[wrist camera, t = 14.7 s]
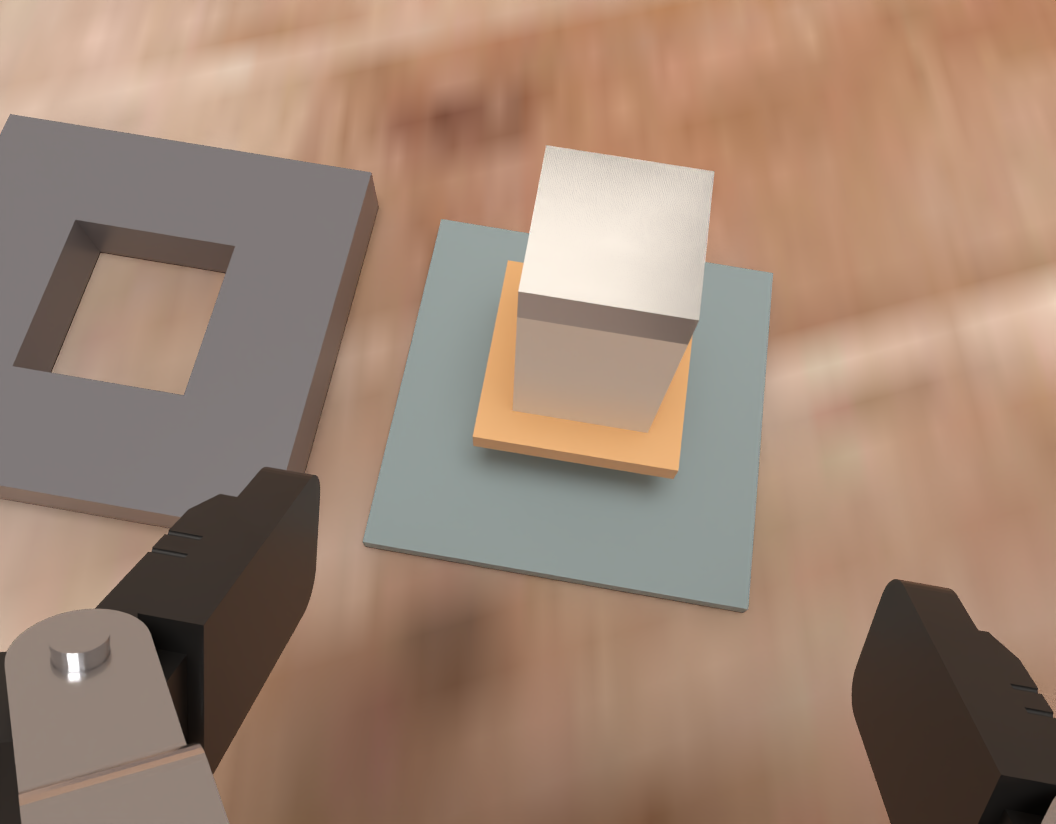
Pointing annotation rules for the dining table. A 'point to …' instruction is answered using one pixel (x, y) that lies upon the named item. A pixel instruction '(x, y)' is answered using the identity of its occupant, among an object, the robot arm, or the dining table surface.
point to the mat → (565, 487)
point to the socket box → (230, 339)
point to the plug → (600, 316)
